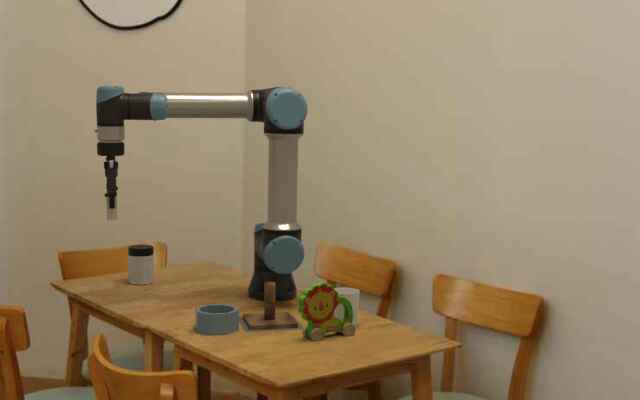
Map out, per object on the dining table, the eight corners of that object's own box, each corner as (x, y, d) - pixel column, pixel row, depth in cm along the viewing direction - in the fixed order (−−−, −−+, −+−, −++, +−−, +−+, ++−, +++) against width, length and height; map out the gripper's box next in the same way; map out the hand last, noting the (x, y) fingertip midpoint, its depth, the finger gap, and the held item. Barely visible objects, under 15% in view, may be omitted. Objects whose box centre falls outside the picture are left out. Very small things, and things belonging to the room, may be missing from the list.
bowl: (234, 324, 262) (234, 303, 261) (240, 335, 252) (240, 313, 251) (194, 326, 260) (194, 305, 259) (198, 337, 249) (198, 315, 248)
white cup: (338, 331, 257) (339, 295, 256) (325, 324, 264) (325, 289, 263) (364, 328, 261) (364, 292, 260) (350, 321, 268) (350, 286, 267)
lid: (288, 316, 271) (288, 277, 269) (297, 327, 258) (298, 287, 257) (242, 318, 268) (242, 278, 266) (249, 330, 255) (250, 289, 254)
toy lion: (345, 332, 257) (346, 276, 255) (356, 337, 252) (357, 280, 250) (294, 340, 248) (294, 282, 246) (305, 345, 244) (305, 286, 242)
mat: (292, 316, 272) (292, 314, 272) (304, 330, 257) (304, 329, 257) (236, 318, 269) (236, 317, 269) (245, 333, 253) (245, 331, 253)
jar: (136, 286, 307) (136, 249, 306) (122, 282, 313) (122, 246, 312) (159, 282, 314) (159, 246, 312) (145, 278, 319) (145, 243, 318)
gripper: (96, 138, 278) (98, 210, 281) (96, 144, 254) (98, 223, 257) (123, 138, 280) (124, 210, 282) (125, 144, 256) (126, 222, 258)
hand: (111, 216), depth 270 cm, fingers open, 13 cm apart
